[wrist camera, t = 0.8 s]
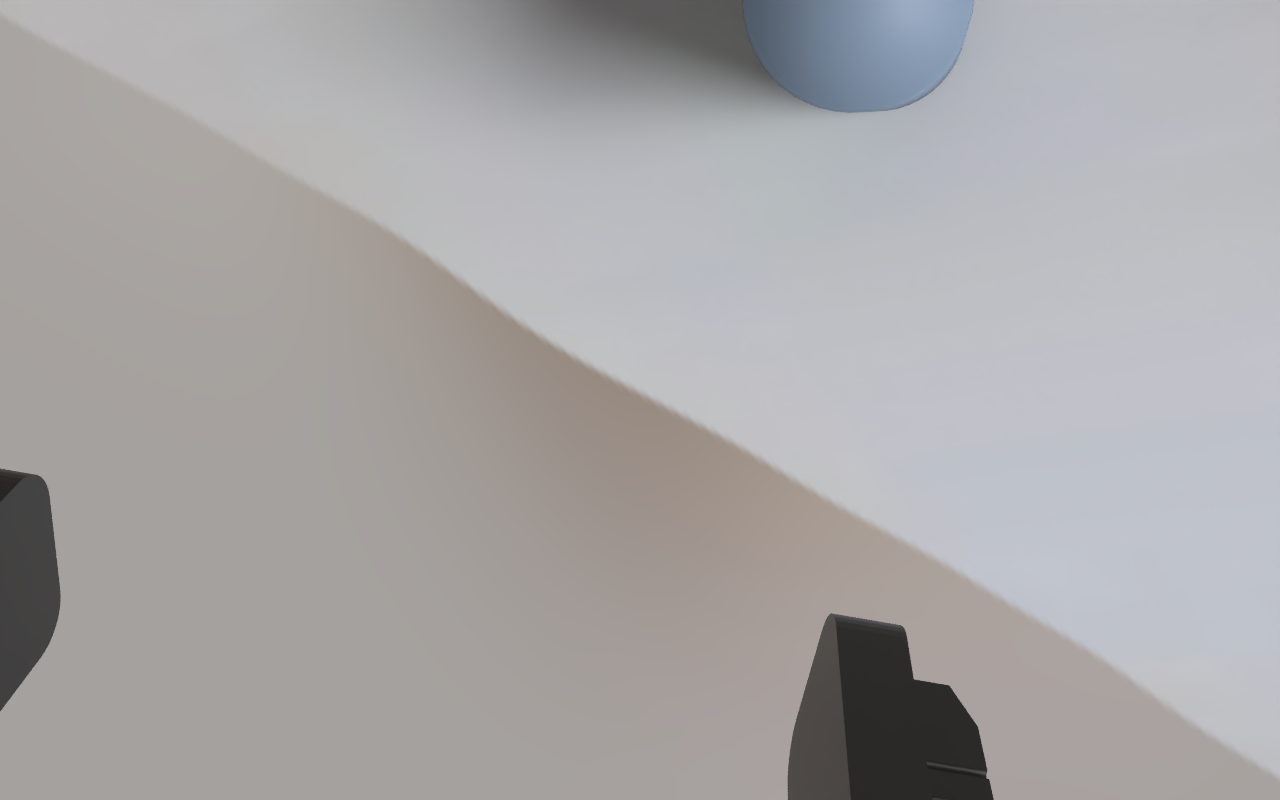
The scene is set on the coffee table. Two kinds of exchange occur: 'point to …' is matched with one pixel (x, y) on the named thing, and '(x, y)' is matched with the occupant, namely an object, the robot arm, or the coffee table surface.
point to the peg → (858, 48)
